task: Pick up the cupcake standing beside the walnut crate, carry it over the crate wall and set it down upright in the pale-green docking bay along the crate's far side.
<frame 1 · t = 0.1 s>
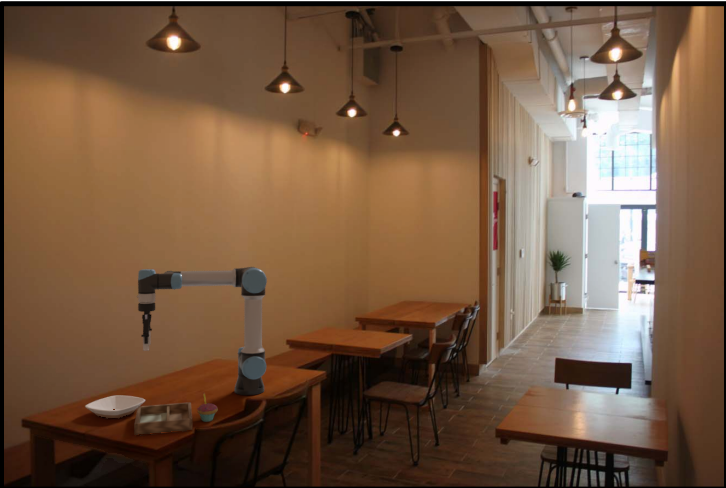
hand: (146, 347, 272), 28 cm above the table, fingers open, 13 cm apart
crate: (164, 423, 250), on the table
bowl: (115, 414, 262), on the table
cupcake: (207, 420, 255), on the table
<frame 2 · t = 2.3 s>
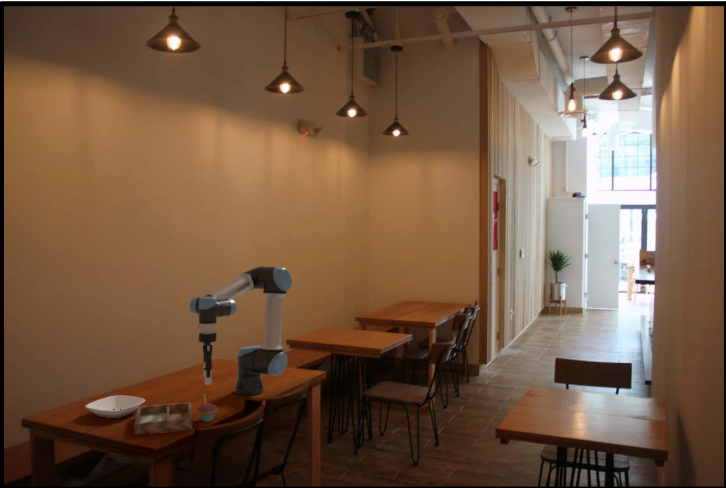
hand: (207, 380, 254), 17 cm above the table, fingers open, 13 cm apart
nothing on the table moved.
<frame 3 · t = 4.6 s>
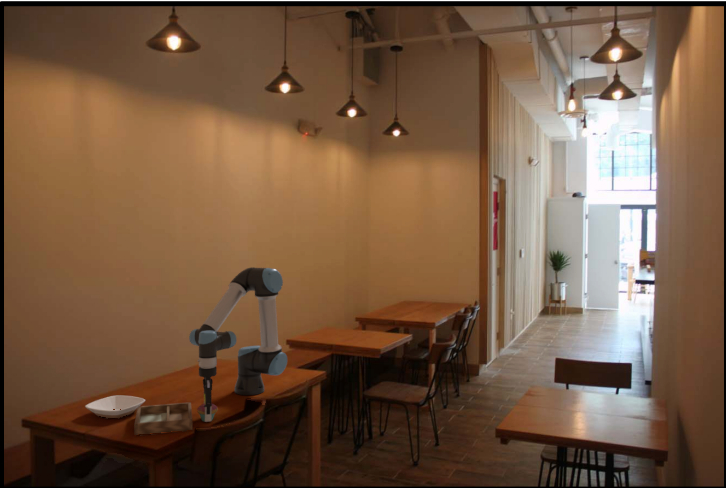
hand: (207, 417, 255), 1 cm above the table, fingers closed on cupcake, 8 cm apart
cupcake: (207, 420, 255), on the table, touching gripper
everything else where it was.
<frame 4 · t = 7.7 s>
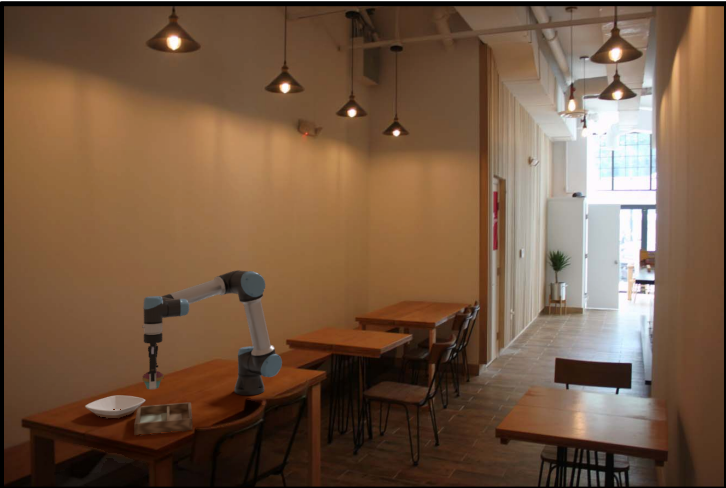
hand: (153, 385, 248), 17 cm above the table, fingers closed on cupcake, 8 cm apart
cupcake: (153, 388, 248), point 16 cm above the table, touching gripper
everything else where it was.
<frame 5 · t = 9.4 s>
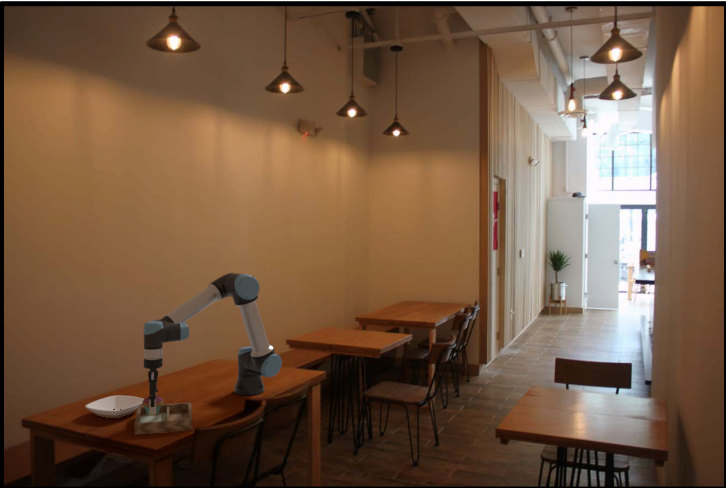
hand: (153, 410, 248), 6 cm above the table, fingers closed on cupcake, 8 cm apart
cupcake: (152, 413, 248), point 5 cm above the table, touching gripper
everything else where it was.
when the fingers open (4 cm above the table, at t = 10.7 s): cupcake drops 2 cm, resting on crate.
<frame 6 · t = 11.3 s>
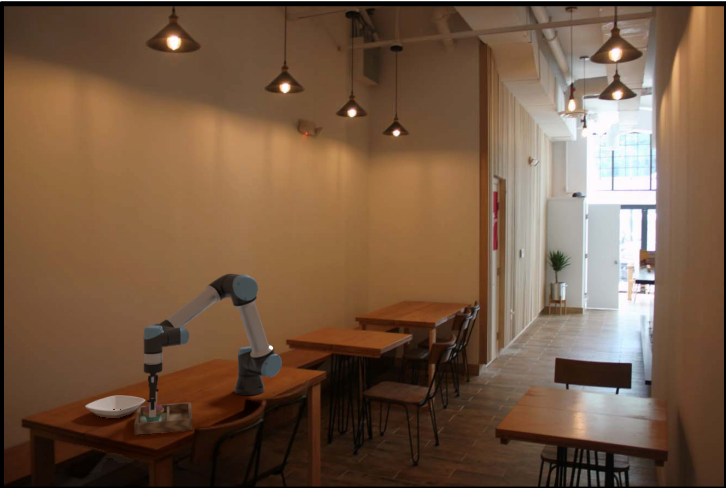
hand: (153, 412, 248), 5 cm above the table, fingers open, 13 cm apart
cupcake: (153, 421, 248), point 1 cm above the table, touching crate
everything else where it was.
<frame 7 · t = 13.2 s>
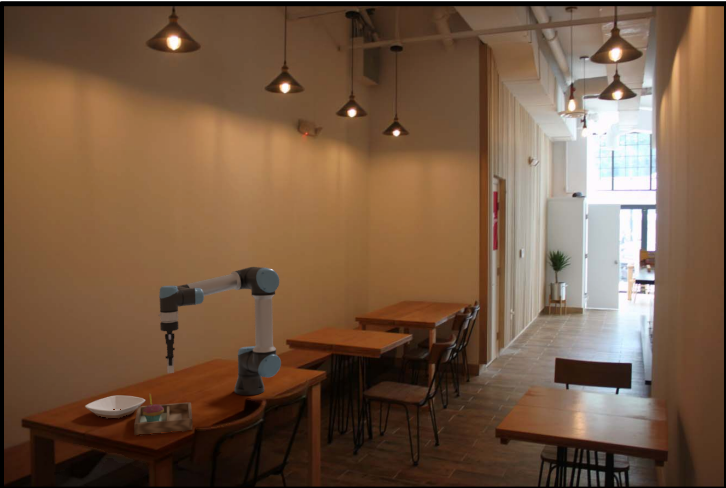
hand: (170, 369, 256), 22 cm above the table, fingers open, 13 cm apart
nothing on the table moved.
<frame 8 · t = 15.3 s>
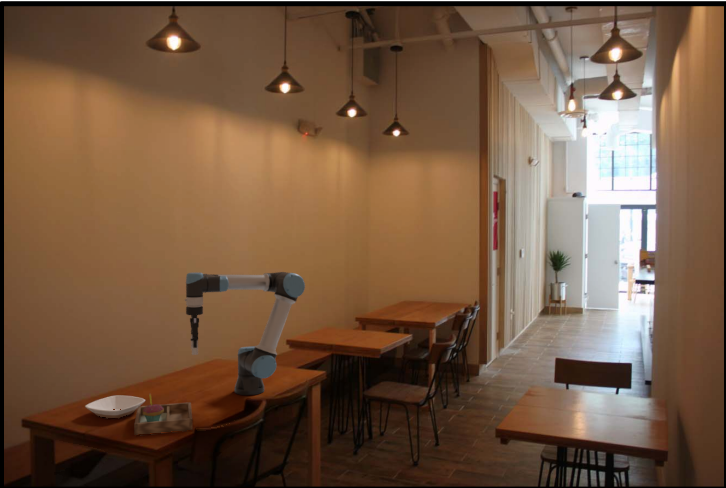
hand: (194, 351, 270), 27 cm above the table, fingers open, 13 cm apart
nothing on the table moved.
at the end: cupcake inside the target area on the crate (0.4 cm from its centre), point 1.2 cm above the crate's base; cupcake tilted 0°; the gripper is holding nothing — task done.
